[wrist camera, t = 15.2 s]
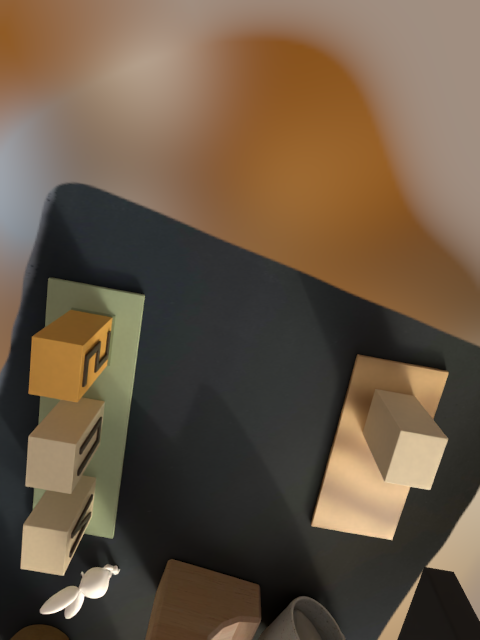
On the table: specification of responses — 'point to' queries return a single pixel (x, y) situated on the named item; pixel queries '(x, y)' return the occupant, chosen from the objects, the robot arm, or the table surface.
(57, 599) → the rabbit figurine
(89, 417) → the U tile
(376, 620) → the table surface
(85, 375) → the orange block
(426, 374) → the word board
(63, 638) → the plant pot
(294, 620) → the ceramic mug
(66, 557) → the wooden letter block
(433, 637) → the robot arm
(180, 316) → the table surface
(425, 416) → the tile
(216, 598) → the decorative block
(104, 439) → the board
